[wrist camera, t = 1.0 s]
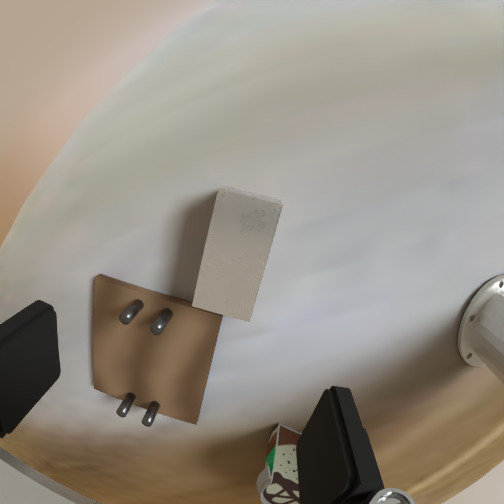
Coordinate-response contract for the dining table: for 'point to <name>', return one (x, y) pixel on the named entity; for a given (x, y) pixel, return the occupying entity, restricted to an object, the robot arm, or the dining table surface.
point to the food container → (280, 468)
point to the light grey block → (236, 252)
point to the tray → (152, 349)
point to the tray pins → (155, 329)
